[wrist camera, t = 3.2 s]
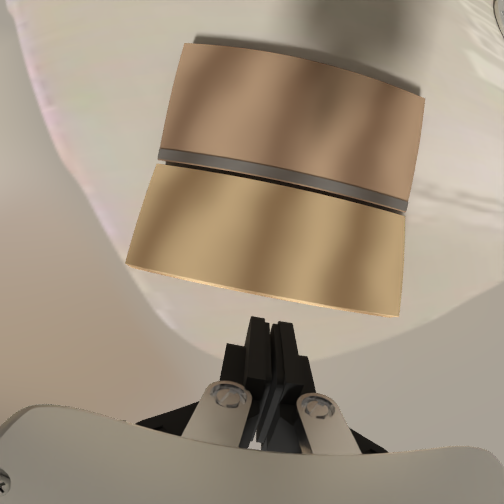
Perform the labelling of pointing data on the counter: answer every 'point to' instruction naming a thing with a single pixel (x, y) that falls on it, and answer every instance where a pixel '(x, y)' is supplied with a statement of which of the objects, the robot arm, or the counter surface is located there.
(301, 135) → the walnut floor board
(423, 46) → the counter surface
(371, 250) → the oak plank
